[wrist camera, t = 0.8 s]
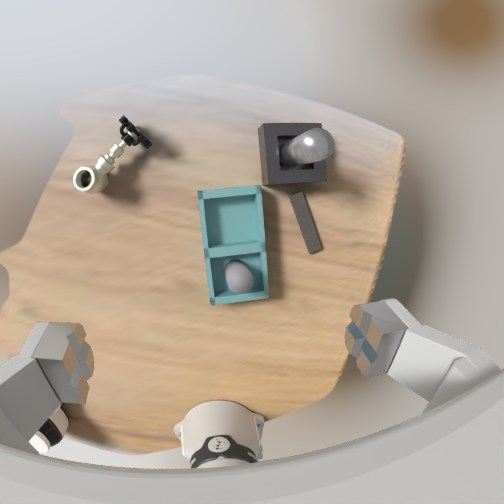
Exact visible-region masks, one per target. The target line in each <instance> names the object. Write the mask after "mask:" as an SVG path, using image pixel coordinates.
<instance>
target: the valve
mask: <svg viewBox="0 0 504 504" xmlns="http://www.w3.org/2000/svg"><path fill="white" fill-rule="evenodd" d="M119 121H120V123H122V126H121V127H120V133H121V135H122V137H121V139H122V141H121V142H120V144H119V145H118V144H115V145H114V146H113V147H112V148H111V149H110V151H111V152H110V154H106V155H105V156H104V155H100V156H99V157H98V158H97V163H96V164H95V165H91V166H87V167H84V166H81V167H80V168H79V169H78V170H77V171H76V173H75V174H74V175H73V181H74V185H75V189H76V190H80V191H84V192H86V193H89V194H93V193H96V192H101V191H102V190H103V189H104V188H105V187H106V186H107V184H108V183H109V179H108V175H107V172H111V171H112V170H113V169H114V168H115V167H114V165H113V164H114V162H115V160H114V159H115V158H116V157H117V158H119V157H120V156H121V155H122V154H123V153H124V150H123V149H124V148H125V146H126V145H128V146H131V145H133V146H136V145H138V144H139V143H140V142H141V143H142V142H144V143H143V144H144V146H145V147H146V148H147V149H148V148H149V147H150V146H151V145H152V143H151V142H150V141H149V140H148V139H147V138H146V137H145V136H144V135H143V134H142V133H141V132H140V131H139V130H138V129H137V128H136V127H135V126H134V125H133V124H132V123H131V122H129V120H128V119H127V118H126V117H125V116H124V115H123V116H122V117H121V118H120V119H119ZM125 127H126V129H127V130H128V131H127V132H126V133H125V132H124V131H123V129H124V128H125ZM136 138H137V139H136Z"/></svg>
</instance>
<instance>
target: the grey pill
mask: <svg viewBox="0 0 504 504" xmlns="http://www.w3.org/2000/svg"><path fill="white" fill-rule="evenodd" d="M278 151H279V161H280V162H281V163H282V164H283V165H284V166H286V167H295V166H299V165H304V164H308V163H313V162H317V161H322V160H325V159H327V158H329V157H330V156H331V155H332V153H333V151H334V140H333V138H332V136H331V134H330V133H329V132H328V131H326V130H324V129H322V128H313V129H310V130H308V131H306V132H305V133H303V134H301V135H299V136H297V137H295V138H293V139H291V140H289V141H288V142H286V143H284V144H282V145H281V146H280V147H279V149H278Z"/></svg>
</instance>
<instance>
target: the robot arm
mask: <svg viewBox="0 0 504 504" xmlns="http://www.w3.org/2000/svg"><path fill="white" fill-rule="evenodd" d="M350 318H351V319H352V322H351V323H350V324H349V325H348V326H347V328H346V332H345V344H346V347H347V350H348V352H349V353H350V355H352V356H354V357H356V358H357V363H356V364H357V366H358V368H359V369H360V371H361V372H362V374H363V376H364V377H365V378H370V377H373V376H378V375H382V374H385V373H387V374H388V375H389V376H391V377H392V378H394V379H395V380H397V381H398V382H400V383H402V384H403V385H404V386H406V387H407V388H409V389H411V390H412V391H413V392H415V393H417V394H418V395H420V396H421V397H423V398H424V399H426V400H427V401H429V403H428V405H427V406H426V408H425V409H424V411H423V414H421V415H419V416H417V417H415V418H412V419H410V420H407V421H405V422H403V423H400V424H398V425H395V426H393V427H390V428H388V429H385V430H382V431H379V432H377V433H374V434H371V435H368V436H365V437H362V438H359V439H356V440H353V441H349V442H346V443H343V444H339V445H336V446H332V447H328V448H325V449H321V450H317V451H313V452H308V453H304V454H300V455H295V456H291V457H285V458H280V459H274V460H269V461H262V462H258V459H262V445H261V435H262V431H263V426H264V417H263V416H262V415H259V414H256V413H252V412H250V411H249V410H248V409H246V408H245V407H243V406H242V405H240V404H237V403H234V402H230V401H210V402H205V403H202V404H200V405H197V406H196V407H194V408H193V409H191V410H190V411H189V412H188V413H187V415H186V416H185V418H184V419H183V421H181V422H179V423H178V424H176V425H175V426H174V432H175V434H176V435H177V437H178V438H179V439H180V441H181V442H182V453H183V455H184V456H185V457H186V458H187V459H188V460H189V461H190V469H142V468H125V467H112V466H103V465H95V464H87V463H81V462H74V461H68V460H63V459H58V458H53V457H48V456H43V455H40V454H39V452H38V451H37V450H36V449H35V448H34V447H33V446H32V445H31V444H30V443H29V441H30V439H31V438H32V437H33V436H34V435H35V433H36V432H37V431H38V430H39V429H40V428H41V426H42V425H43V424H44V423H45V422H46V421H47V419H48V418H49V417H50V416H51V415H52V414H53V413H54V411H55V410H56V409H57V408H58V407H59V406H60V405H61V402H63V403H76V404H86V399H87V395H88V391H89V385H88V383H87V380H88V379H89V378H90V377H92V375H93V370H94V357H93V352H92V349H91V347H90V345H89V344H87V343H86V342H85V341H84V339H85V336H86V333H85V331H84V328H83V326H82V325H81V324H79V323H59V322H37V323H36V324H35V325H34V327H33V329H32V331H31V332H30V334H29V336H28V338H27V340H26V342H25V343H24V345H23V347H22V349H21V351H20V353H19V355H18V357H17V356H13V357H12V358H11V359H9V360H8V361H6V362H5V363H4V364H2V365H1V366H0V504H504V369H503V370H501V369H500V368H499V367H498V366H497V365H496V364H495V363H494V362H493V360H491V358H490V357H489V356H488V355H487V354H486V353H485V352H484V351H483V350H482V349H481V348H479V347H477V346H474V345H472V344H470V343H467V342H465V341H462V340H460V339H458V338H455V337H453V336H451V335H448V334H446V333H444V332H441V331H439V330H436V329H434V328H432V327H429V326H427V325H421V324H420V323H419V322H418V321H417V320H416V319H415V318H414V317H413V316H412V315H411V314H410V313H409V312H408V311H407V310H406V309H405V307H403V305H402V304H401V303H400V302H399V301H398V300H396V299H393V298H391V299H386V300H381V301H378V302H372V303H365V304H359V305H354V306H353V308H352V309H351V313H350Z"/></svg>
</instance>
